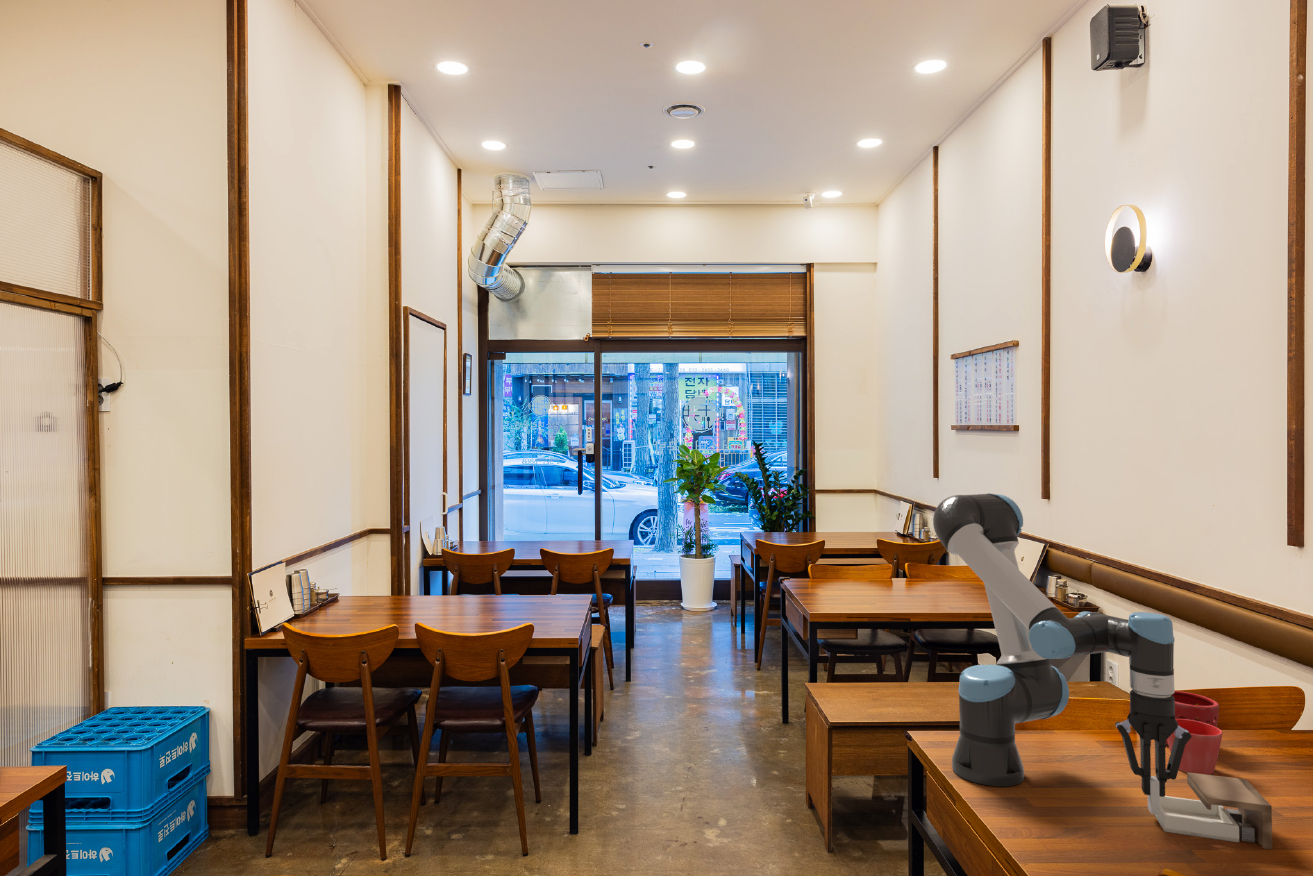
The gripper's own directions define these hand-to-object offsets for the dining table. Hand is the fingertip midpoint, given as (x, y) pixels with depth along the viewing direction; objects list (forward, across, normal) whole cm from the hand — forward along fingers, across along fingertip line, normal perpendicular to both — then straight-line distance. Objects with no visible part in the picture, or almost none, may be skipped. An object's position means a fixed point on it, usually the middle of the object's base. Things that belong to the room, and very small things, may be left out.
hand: (1153, 811), depth 151 cm
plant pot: (+2, +18, +47) cm, 51 cm away
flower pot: (+2, +15, +31) cm, 35 cm away
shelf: (+2, +12, 0) cm, 13 cm away
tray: (+2, +7, 0) cm, 7 cm away
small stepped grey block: (+2, +14, 0) cm, 15 cm away
